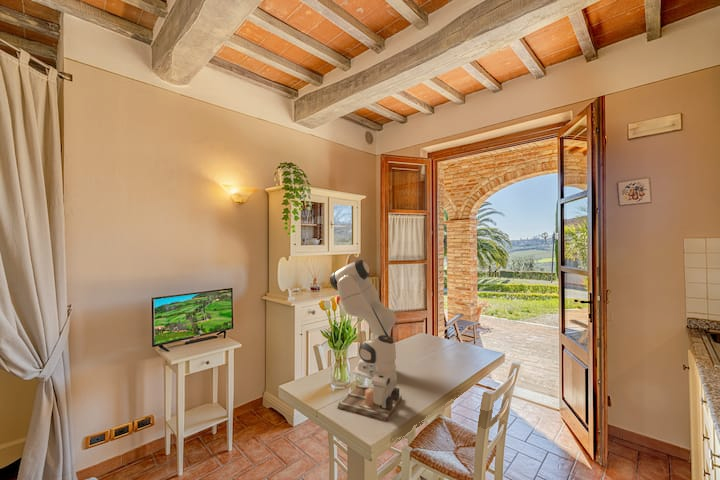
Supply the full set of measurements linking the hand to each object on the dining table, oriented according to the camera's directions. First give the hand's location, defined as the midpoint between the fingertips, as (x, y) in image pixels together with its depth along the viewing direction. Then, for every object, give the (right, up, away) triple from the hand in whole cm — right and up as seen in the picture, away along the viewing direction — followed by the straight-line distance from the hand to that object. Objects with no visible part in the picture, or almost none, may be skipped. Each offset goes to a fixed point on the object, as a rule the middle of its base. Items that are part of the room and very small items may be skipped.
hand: (386, 404), depth 137 cm
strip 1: (-4, -2, +2) cm, 5 cm away
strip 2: (0, -2, +10) cm, 10 cm away
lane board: (-7, -4, +8) cm, 11 cm away
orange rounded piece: (-7, -1, +3) cm, 8 cm away
